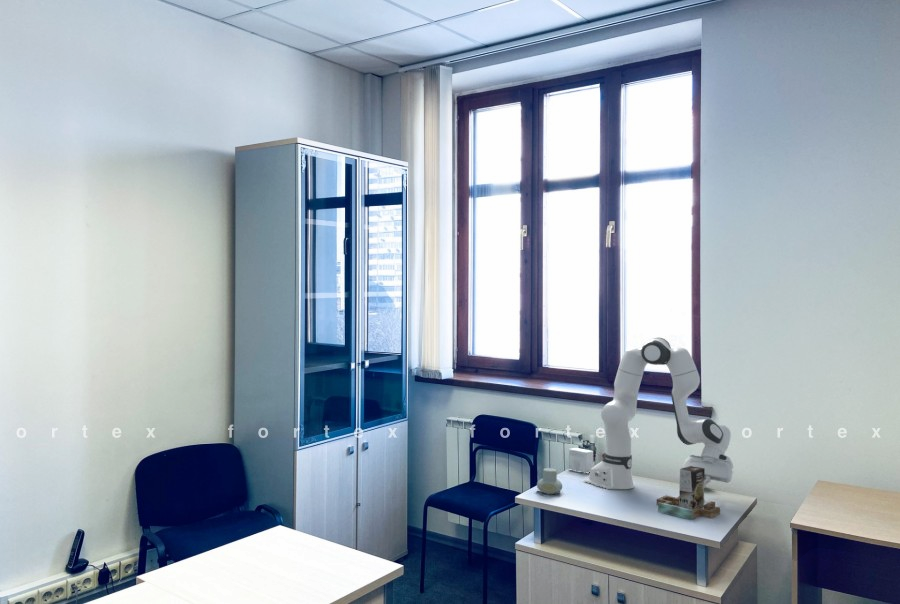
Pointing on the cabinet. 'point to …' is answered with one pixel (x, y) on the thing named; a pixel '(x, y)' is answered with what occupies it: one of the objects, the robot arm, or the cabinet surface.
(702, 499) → the coffee box
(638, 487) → the cabinet surface
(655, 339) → the robot arm
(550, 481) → the air freshener
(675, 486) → the cabinet surface
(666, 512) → the lane
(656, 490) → the cabinet surface
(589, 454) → the skincare box
